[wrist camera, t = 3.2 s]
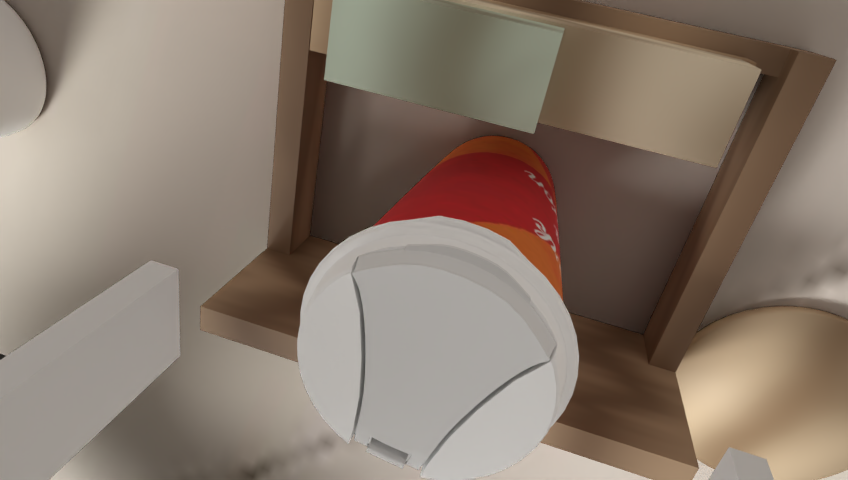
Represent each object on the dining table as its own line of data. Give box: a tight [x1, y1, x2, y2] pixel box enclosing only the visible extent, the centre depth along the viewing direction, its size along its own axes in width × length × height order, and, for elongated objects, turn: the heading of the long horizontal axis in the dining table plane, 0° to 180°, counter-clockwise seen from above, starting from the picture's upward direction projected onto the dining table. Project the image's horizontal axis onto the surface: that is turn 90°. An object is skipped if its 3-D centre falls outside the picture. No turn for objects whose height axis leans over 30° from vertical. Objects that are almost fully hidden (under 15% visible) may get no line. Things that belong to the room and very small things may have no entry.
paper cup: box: [297, 136, 579, 480], centre depth 20 cm, size 8×8×14 cm
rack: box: [200, 0, 836, 480], centre depth 22 cm, size 20×15×8 cm
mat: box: [676, 306, 848, 480], centre depth 27 cm, size 10×10×1 cm
